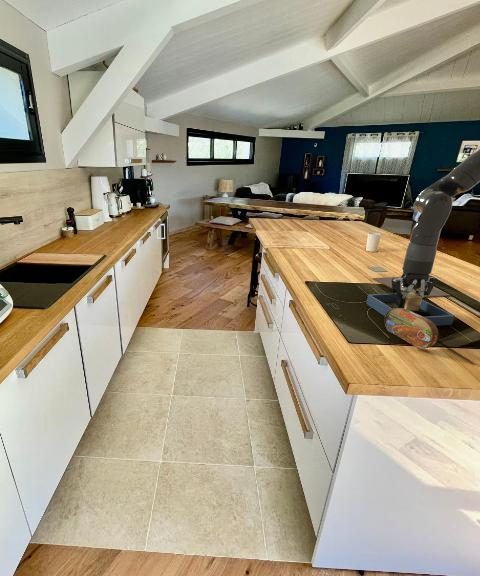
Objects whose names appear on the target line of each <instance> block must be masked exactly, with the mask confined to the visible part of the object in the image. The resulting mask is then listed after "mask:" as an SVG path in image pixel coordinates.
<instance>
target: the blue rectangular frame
mask: <svg viewBox="0 0 480 576" xmlns="http://www.w3.org/2000/svg"><path fill="white" fill-rule="evenodd" d="M397 298H398V297H397V296H395V295H393V294H392V293H378V294H377V293H376V294H375V293H374V294H367V298H366V303H365V304H366V305H367V306H368V307H370V308H372V309H373V310H375V311H376V312H378V313H379V314H381V315H382V316H384V317H385V315H386V313H387V312H388V311H389V310H390V309H393V308H392V307H391V306H389V305H387V304H386V303H393V302H394V303H395V302H396V303H397ZM419 310H422V311H423V312H426V313H427V314H429V315H430V316H429V315H428V316H423V317H424V318H427V319H429V320H431V321H432V322H433V323H434V324H435V325H436V327H438V326H452V325H453V324H454V323H453V322H454V320H455V315H454V314H453V313H450V312H448V311H446V310H444V309H442V308H440V307H438V306H436V305H434V304H432V303H430V302H427V301H426V300H424V299H422V301H421V305H420V309H419Z"/></svg>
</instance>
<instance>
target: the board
mask: <svg viewBox="0 0 480 576" xmlns="http://www.w3.org/2000/svg"><path fill="white" fill-rule="evenodd" d="M392 278H395V279H397V278H401V276H389V277H388V276H387V277H386V276H385V277H373V278H372V280H373V281H375V282H377V283H379V284H381V285H383V286H385V287H387V288H388V289H391V290H392ZM401 284H402V283H401ZM405 288H406V287H405ZM406 289H407V288H406ZM427 289H428V288H427ZM427 289H426V291H427ZM411 292H412V293H414V294H415V290H414V289H412V290H411ZM403 293H404V292H403ZM451 296H452V295H451V294H449V293H447V292H445V291H442V290H440V289H438V288H435V287H433V289H432V291H431V293H430V294H429V295H428V296H426V295H425V296H424V297H423V298H422V299H426V298H427V299H428V298H446V297H447V298H448V297H451Z"/></svg>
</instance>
